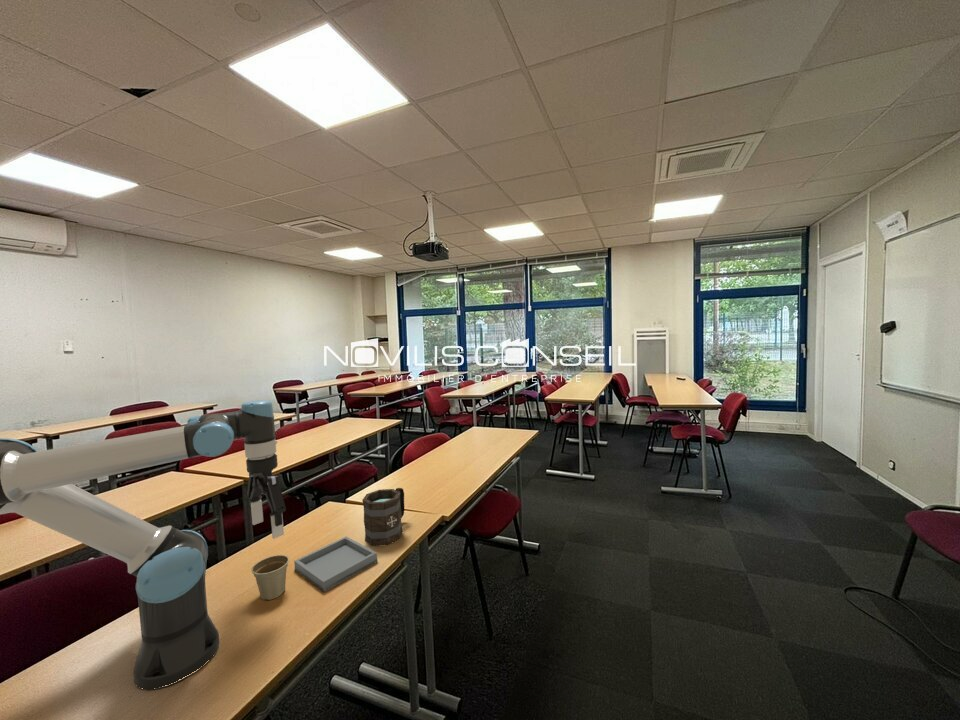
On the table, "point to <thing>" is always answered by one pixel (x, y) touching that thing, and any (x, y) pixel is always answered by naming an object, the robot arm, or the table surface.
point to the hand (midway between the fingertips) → (267, 529)
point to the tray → (335, 563)
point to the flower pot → (271, 576)
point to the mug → (383, 516)
